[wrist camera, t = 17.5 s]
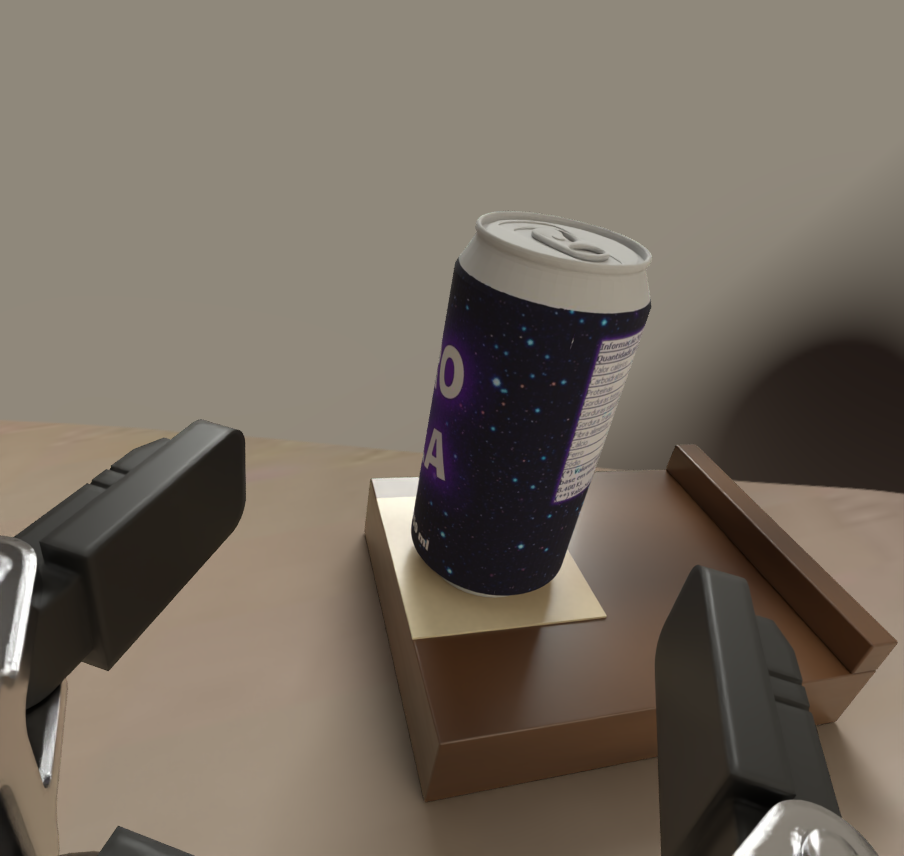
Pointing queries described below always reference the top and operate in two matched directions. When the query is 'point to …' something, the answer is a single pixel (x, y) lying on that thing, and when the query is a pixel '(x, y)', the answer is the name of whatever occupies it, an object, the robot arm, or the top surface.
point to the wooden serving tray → (594, 627)
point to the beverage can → (525, 396)
